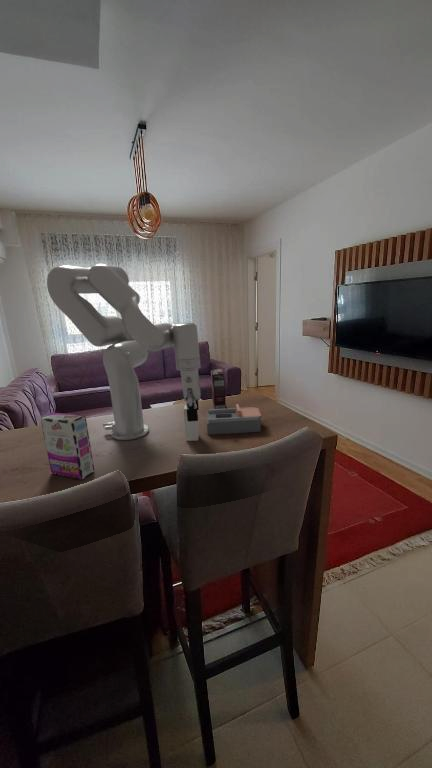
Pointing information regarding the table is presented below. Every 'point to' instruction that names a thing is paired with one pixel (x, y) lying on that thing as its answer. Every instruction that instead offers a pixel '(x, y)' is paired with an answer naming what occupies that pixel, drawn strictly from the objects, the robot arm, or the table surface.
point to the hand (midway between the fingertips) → (193, 415)
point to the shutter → (247, 412)
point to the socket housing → (231, 422)
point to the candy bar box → (68, 444)
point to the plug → (190, 427)
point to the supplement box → (218, 389)
